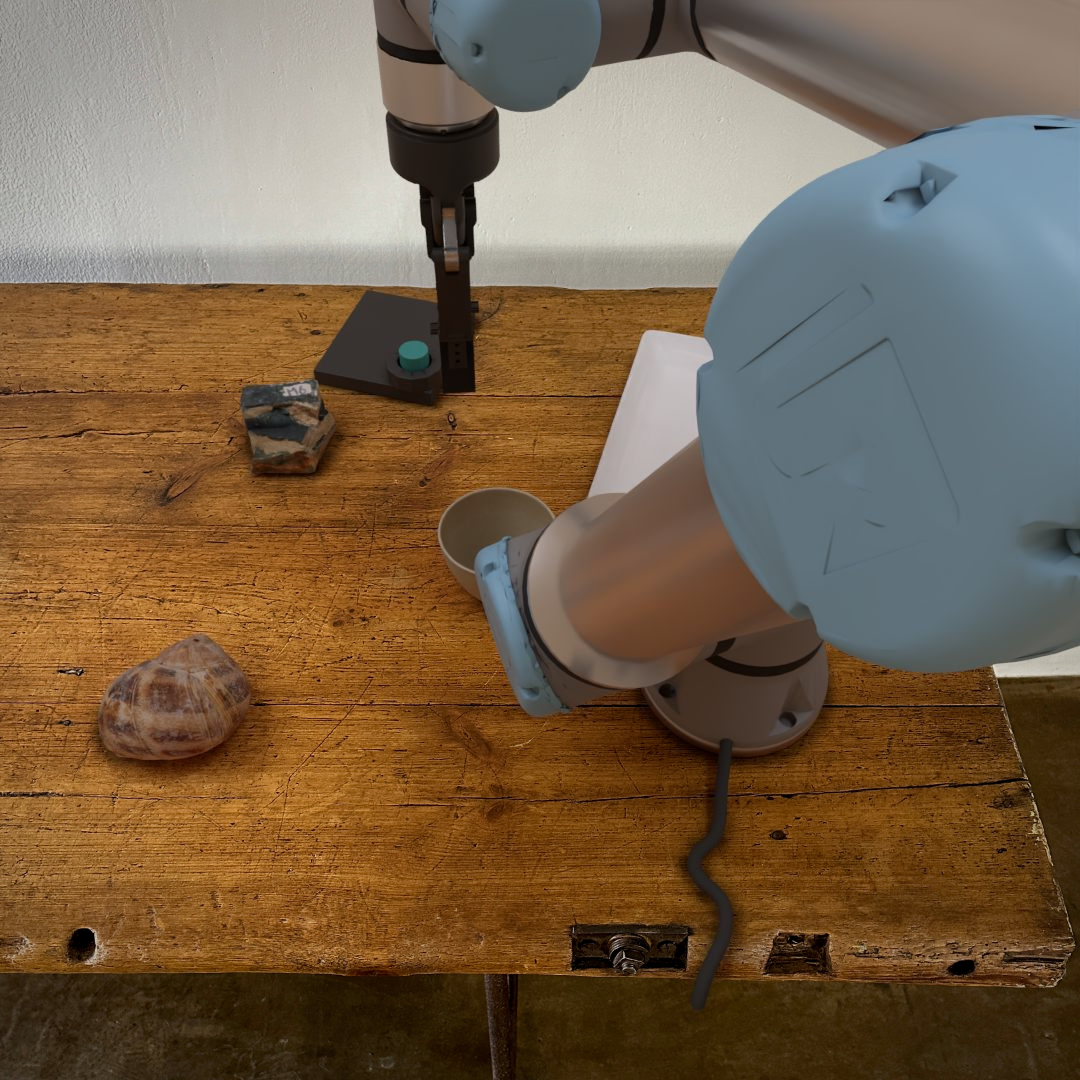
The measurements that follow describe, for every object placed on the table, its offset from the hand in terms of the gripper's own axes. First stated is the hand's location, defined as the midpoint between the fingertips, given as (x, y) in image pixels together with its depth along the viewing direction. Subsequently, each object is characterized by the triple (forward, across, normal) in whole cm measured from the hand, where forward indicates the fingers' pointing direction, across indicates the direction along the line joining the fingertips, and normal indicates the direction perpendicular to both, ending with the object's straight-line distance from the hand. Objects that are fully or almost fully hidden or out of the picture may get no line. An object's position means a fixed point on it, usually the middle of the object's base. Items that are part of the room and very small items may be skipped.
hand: (459, 387), depth 81 cm
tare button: (+11, +17, +4) cm, 21 cm away
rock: (+14, +9, +17) cm, 24 cm away
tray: (+14, +4, -23) cm, 27 cm away
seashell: (+15, -22, +23) cm, 35 cm away
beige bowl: (+14, -10, -2) cm, 18 cm away
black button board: (+14, +23, +6) cm, 28 cm away
